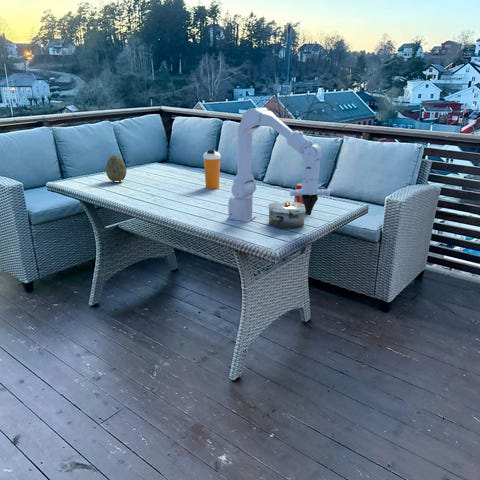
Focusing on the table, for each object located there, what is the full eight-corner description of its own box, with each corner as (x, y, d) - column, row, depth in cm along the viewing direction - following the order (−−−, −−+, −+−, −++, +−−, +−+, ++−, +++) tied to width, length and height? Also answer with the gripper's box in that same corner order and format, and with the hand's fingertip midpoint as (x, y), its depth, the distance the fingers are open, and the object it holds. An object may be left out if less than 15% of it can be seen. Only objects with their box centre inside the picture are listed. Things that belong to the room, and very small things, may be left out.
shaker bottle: (221, 185, 223) (220, 148, 215) (220, 189, 214) (220, 150, 207) (204, 185, 222) (203, 148, 215) (203, 189, 214) (202, 150, 207)
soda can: (299, 207, 184) (300, 181, 179) (313, 210, 180) (315, 183, 175) (290, 211, 178) (292, 184, 174) (304, 214, 174) (306, 186, 170)
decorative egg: (124, 184, 224) (121, 156, 218) (104, 184, 224) (101, 156, 218) (129, 180, 234) (127, 153, 228) (110, 180, 234) (107, 153, 228)
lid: (275, 218, 149) (276, 213, 148) (265, 204, 167) (265, 198, 166) (314, 217, 151) (315, 211, 150) (299, 203, 169) (300, 197, 168)
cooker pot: (257, 229, 156) (258, 214, 154) (276, 216, 172) (277, 202, 170) (292, 235, 150) (293, 219, 148) (308, 221, 166) (309, 206, 164)
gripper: (293, 181, 144) (291, 218, 149) (333, 180, 146) (330, 217, 150) (289, 176, 151) (287, 212, 156) (327, 176, 152) (324, 211, 157)
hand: (308, 214), depth 153 cm, fingers closed
